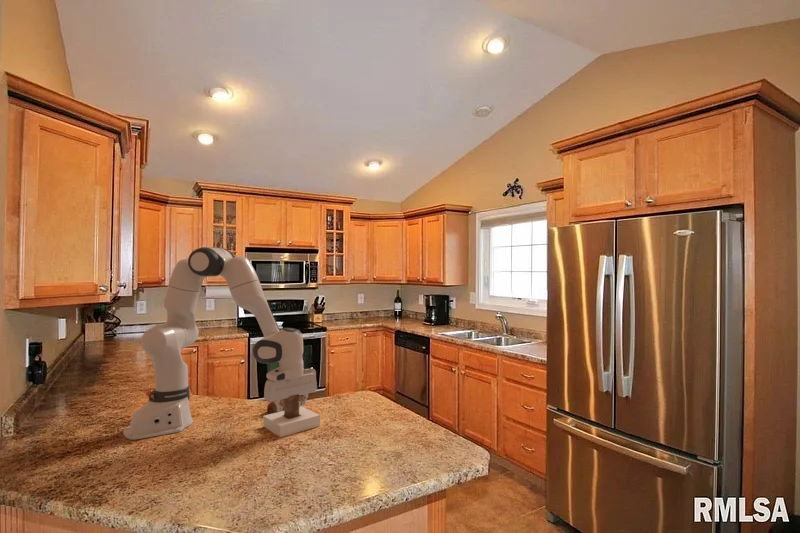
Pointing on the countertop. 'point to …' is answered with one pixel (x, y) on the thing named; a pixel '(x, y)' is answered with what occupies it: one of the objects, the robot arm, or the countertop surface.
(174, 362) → the robot arm
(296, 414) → the walnut peg
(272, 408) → the bread roll
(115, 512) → the countertop surface
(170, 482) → the countertop surface
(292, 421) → the socket block
